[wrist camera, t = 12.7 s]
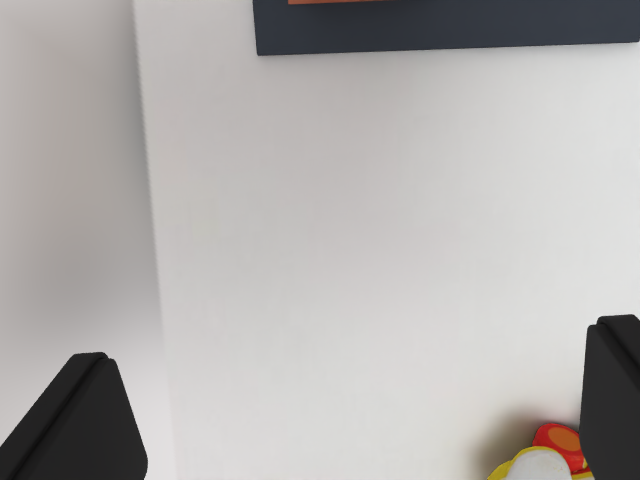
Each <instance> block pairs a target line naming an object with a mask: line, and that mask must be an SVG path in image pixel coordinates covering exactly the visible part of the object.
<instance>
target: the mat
mask: <svg viewBox="0 0 640 480" xmlns="http://www.w3.org/2000/svg"><path fill="white" fill-rule="evenodd" d="M253 11H254V23H255V35H256V48H257V55H258V56H265V55H293V54H321V53H349V52H377V51H405V50H433V49H461V48H489V47H517V46H545V45H573V44H602V43H630V42H639V41H640V0H253Z"/></svg>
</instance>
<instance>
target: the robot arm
mask: <svg viewBox="0 0 640 480" xmlns="http://www.w3.org/2000/svg"><path fill="white" fill-rule="evenodd" d="M579 442H580V447H581V451H582V453H583V456H584V458H585V460H586V462H587V464H588V466H589V468H590V470H591V472H592V475H593V477H594V479H595V480H640V320H639V319H638V318H637V317H636V316H635V315H632V314H628V315H614V316H601V317H599V318H598V320H597V324H596V325H590V326H589V327H588V329H587V338H586V351H585V364H584V376H583V389H582V402H581V414H580V427H579ZM147 468H148V458H147V454H146V451H145V448H144V445H143V442H142V439H141V436H140V433H139V430H138V427H137V424H136V421H135V418H134V415H133V412H132V409H131V406H130V403H129V400H128V397H127V394H126V391H125V388H124V385H123V381H122V378H121V375H120V372H119V370H118V366H117V364H116V362H115V360H114V359H111V358H110V359H109V358H108V356H107V355H106V354H105V353H103V352H94V353H81V354H74V355H73V356H72V357H71V358H70V359H69V360H68V361H67V363H66V364H65V365H64V366H63V368H62V369H61V370H60V372H59V373H58V374H57V375H56V377H55V378H54V379H53V381H52V382H51V383H50V384H49V386H48V387H47V388H46V389H45V391H44V392H43V393H42V394H41V396H40V397H39V398H38V400H37V401H36V402H35V403H34V405H33V406H32V407H31V408H30V410H29V411H28V413H27V414H26V415H25V416H24V417H23V419H22V420H21V421H20V423H19V424H18V425H17V426H16V428H15V429H14V430H13V432H12V433H11V434H10V435H9V436H8V438H7V439H6V440H5V442H4V443H3V444H2V445H1V447H0V480H144V478H145V476H146V473H147Z"/></svg>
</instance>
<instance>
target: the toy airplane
mask: <svg viewBox="0 0 640 480" xmlns="http://www.w3.org/2000/svg"><path fill="white" fill-rule="evenodd" d="M532 446H533V447H529V448H525V449H523V450H521V451H520V452H519V453H518V454H517V455H516V456H515V457H514V458H513V460H511V461H507V462H505V463H503V464H501V465H499V466H498V467H497V468H496V469H495V470H494V471H493V472H492V473H491V474H490V476H489V477H488V478H487V480H595V479H594V477H593V475H592V472H591V470H590V468H589V466H588V464H587V462H586V460H585V458H584V456H583V453H582V451H581V447H580V442H579V434H578V433H577V432H576V431H574V430H572V429H570V428H568V427H566V426H563V425H559V424H552V423H548V424H546V425H543V426H541V427H540V428H539V429H538V430H537V433H536V435H535V437H534V440H533V442H532Z"/></svg>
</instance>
